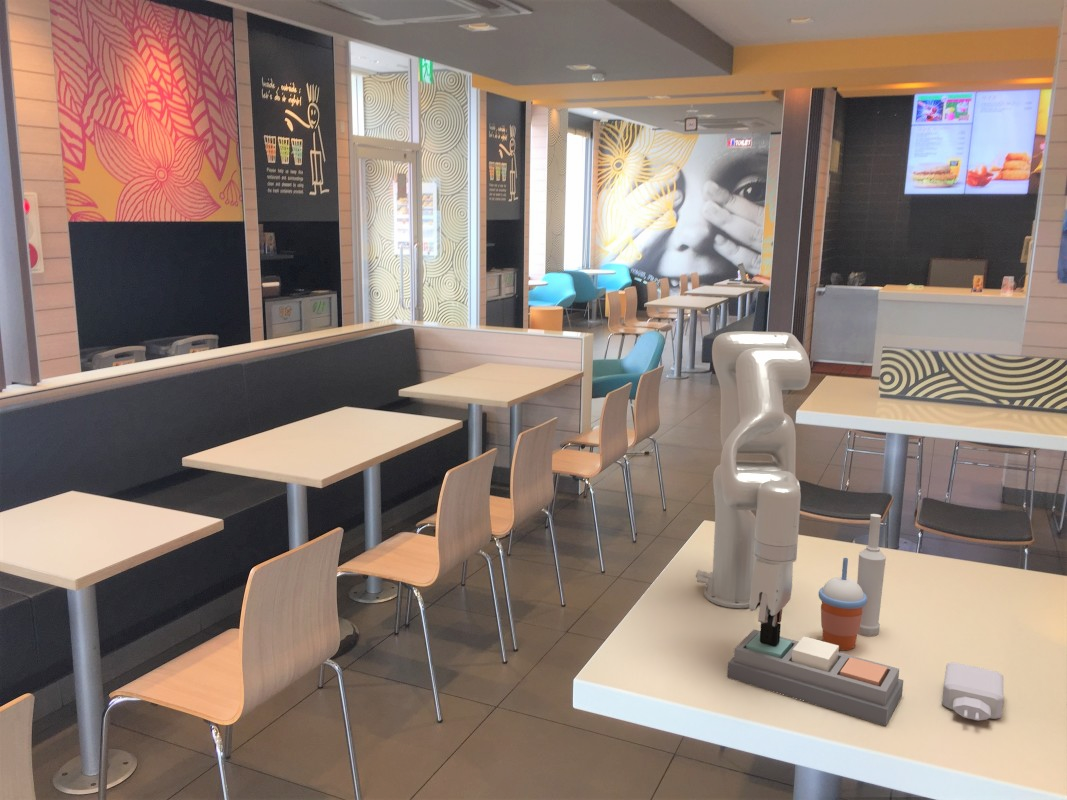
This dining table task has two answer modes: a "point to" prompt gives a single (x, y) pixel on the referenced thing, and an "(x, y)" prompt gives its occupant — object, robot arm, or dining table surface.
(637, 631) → the dining table surface
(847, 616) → the cup with straw
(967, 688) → the charger
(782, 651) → the teal key
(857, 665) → the terracotta key
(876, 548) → the bottle
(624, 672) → the dining table surface
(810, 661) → the cream key
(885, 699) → the keypad
